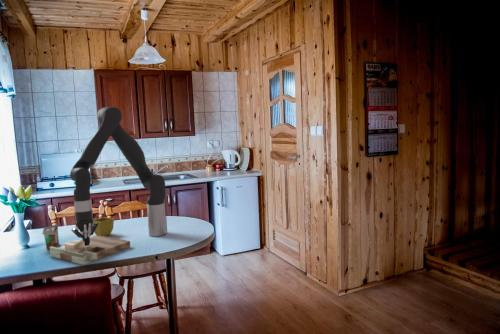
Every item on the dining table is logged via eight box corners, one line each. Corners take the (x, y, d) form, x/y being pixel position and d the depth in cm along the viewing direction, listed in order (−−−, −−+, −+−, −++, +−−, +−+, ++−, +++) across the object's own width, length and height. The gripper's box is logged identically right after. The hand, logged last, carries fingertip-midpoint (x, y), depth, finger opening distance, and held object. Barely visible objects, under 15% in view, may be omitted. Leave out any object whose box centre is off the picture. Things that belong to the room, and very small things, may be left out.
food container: (46, 244, 190) (44, 226, 189) (59, 243, 192) (57, 224, 191) (41, 252, 179) (39, 232, 178) (56, 250, 181) (54, 230, 180)
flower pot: (105, 232, 210) (104, 216, 209) (115, 234, 206) (114, 218, 205) (91, 236, 203) (90, 220, 202) (102, 238, 198) (100, 222, 197)
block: (77, 248, 174) (76, 239, 173) (85, 249, 171) (84, 241, 170) (65, 251, 169) (64, 243, 168) (73, 253, 166) (72, 245, 165)
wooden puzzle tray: (98, 240, 195) (97, 232, 194) (130, 247, 182) (129, 238, 182) (50, 256, 172) (49, 247, 172) (83, 264, 160) (82, 254, 159)
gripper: (90, 205, 180) (93, 240, 182) (65, 211, 169) (68, 248, 171) (100, 207, 177) (103, 242, 178) (75, 213, 165) (79, 250, 167)
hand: (86, 245), depth 175 cm, fingers closed
